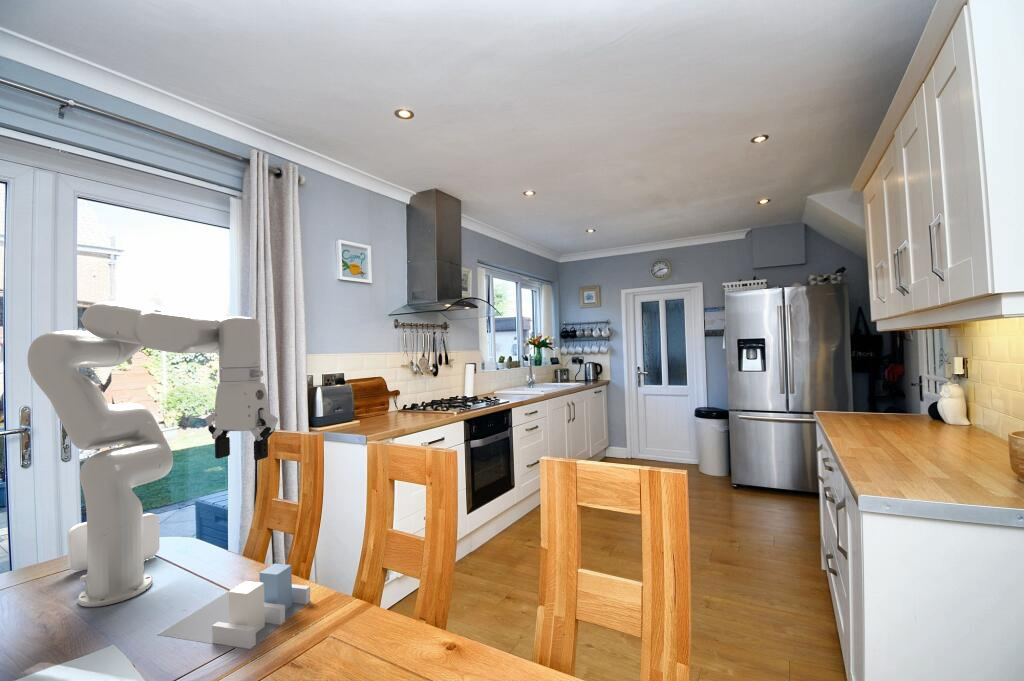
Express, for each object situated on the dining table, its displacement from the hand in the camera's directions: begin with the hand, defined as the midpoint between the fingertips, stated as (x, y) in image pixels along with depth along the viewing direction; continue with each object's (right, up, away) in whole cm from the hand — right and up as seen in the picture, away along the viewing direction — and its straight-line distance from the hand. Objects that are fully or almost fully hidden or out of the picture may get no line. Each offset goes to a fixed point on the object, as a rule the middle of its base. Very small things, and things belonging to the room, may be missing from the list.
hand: (241, 457), depth 99 cm
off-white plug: (+8, -29, -13) cm, 32 cm away
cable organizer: (-43, -32, +19) cm, 57 cm away
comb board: (+4, -30, -8) cm, 31 cm away
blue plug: (+10, -29, -6) cm, 31 cm away
